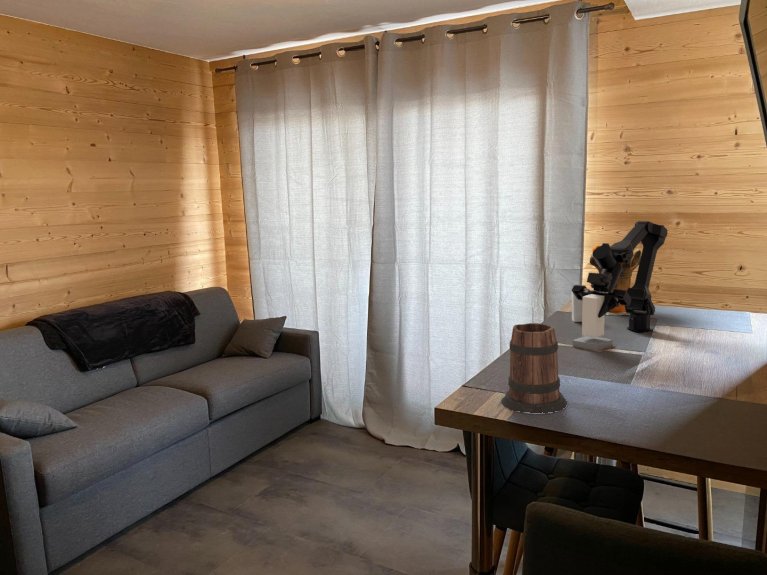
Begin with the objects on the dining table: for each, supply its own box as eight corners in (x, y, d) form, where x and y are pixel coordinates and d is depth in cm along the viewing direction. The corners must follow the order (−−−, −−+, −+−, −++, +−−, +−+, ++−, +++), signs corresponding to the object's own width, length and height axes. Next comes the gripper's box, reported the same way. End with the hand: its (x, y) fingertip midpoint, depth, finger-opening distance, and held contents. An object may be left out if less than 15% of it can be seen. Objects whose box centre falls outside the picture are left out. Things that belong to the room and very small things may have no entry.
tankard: (561, 418, 146) (561, 337, 143) (493, 409, 154) (491, 333, 150) (577, 386, 167) (577, 315, 163) (516, 380, 174) (515, 312, 171)
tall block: (590, 332, 203) (591, 294, 201) (604, 334, 199) (605, 296, 197) (581, 335, 200) (582, 296, 197) (595, 338, 196) (596, 298, 194)
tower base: (586, 345, 208) (586, 339, 208) (617, 350, 200) (617, 344, 200) (568, 352, 201) (568, 346, 201) (599, 358, 193) (599, 352, 192)
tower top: (588, 340, 206) (588, 334, 206) (612, 345, 199) (612, 339, 199) (572, 346, 201) (572, 340, 200) (597, 351, 194) (597, 345, 193)
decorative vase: (609, 318, 238) (608, 247, 235) (579, 310, 261) (577, 244, 257) (656, 313, 242) (656, 243, 239) (622, 305, 265) (622, 241, 261)
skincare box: (586, 319, 241) (587, 289, 239) (589, 321, 237) (589, 291, 235) (571, 319, 241) (571, 290, 239) (573, 322, 237) (573, 292, 235)
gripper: (574, 261, 205) (556, 298, 200) (627, 264, 191) (609, 305, 186) (586, 280, 211) (569, 317, 206) (639, 285, 197) (621, 325, 192)
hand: (591, 316), depth 197 cm, fingers closed on tall block, 5 cm apart
